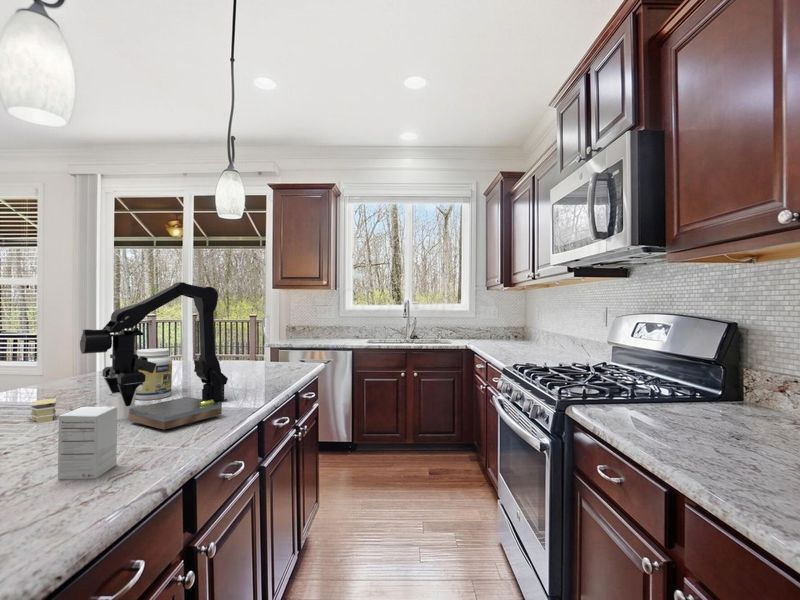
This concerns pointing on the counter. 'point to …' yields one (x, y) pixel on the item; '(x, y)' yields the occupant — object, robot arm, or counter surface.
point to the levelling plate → (175, 408)
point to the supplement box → (87, 442)
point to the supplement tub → (156, 375)
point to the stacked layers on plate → (43, 410)
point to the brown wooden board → (176, 422)
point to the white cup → (121, 405)
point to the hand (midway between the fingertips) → (122, 403)
